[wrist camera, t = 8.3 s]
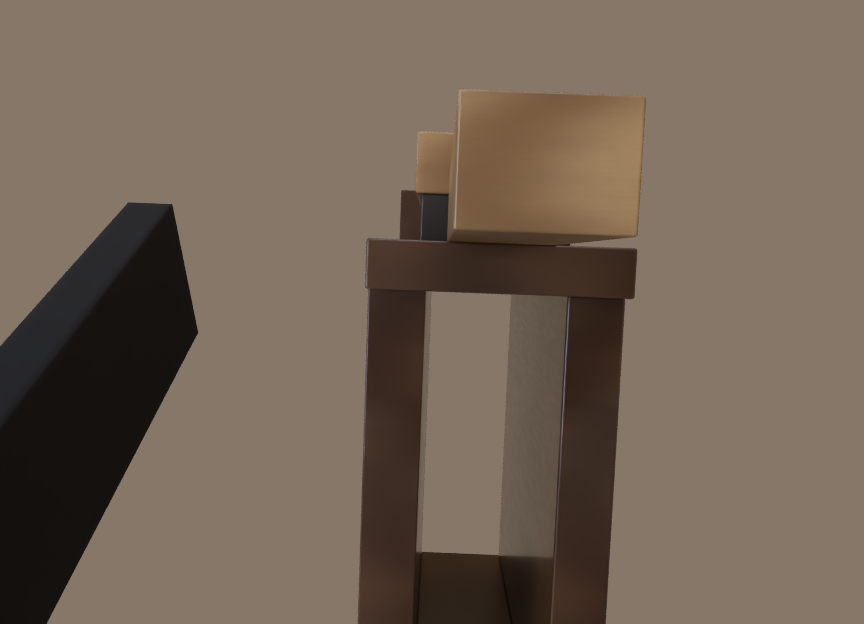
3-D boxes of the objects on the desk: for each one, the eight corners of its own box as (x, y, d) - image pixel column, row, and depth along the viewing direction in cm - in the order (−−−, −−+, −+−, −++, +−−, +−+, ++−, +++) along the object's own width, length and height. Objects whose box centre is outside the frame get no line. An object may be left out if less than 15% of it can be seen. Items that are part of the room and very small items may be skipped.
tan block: (389, 227, 12) (397, 13, 12) (420, 245, 32) (423, 166, 32) (702, 239, 12) (716, 25, 12) (538, 250, 32) (542, 171, 32)
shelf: (337, 1155, 23) (369, 134, 20) (382, 761, 41) (402, 192, 38) (581, 1167, 23) (644, 144, 20) (519, 767, 41) (548, 197, 38)
